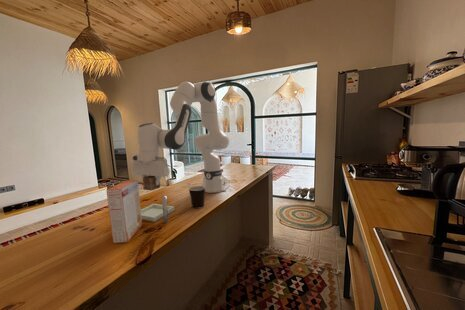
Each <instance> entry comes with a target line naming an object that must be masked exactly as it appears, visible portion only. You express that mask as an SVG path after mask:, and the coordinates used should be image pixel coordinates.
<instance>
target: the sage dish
mask: <svg viewBox="0 0 465 310" xmlns="http://www.w3.org/2000/svg"><path fill="white" fill-rule="evenodd" d="M167 209H168V215H169V214H171V213H173V212H175V206H172V205H167ZM141 217H142V221H147V222H152V223H155V222H157V221H159V220H161V219H162V218H163V205H162V204H157V203H152V204H150V205H147V206H146V207H144V208H142V209H141Z"/></svg>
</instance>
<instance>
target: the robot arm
mask: <svg viewBox="0 0 465 310" xmlns="http://www.w3.org/2000/svg"><path fill="white" fill-rule="evenodd" d="M215 96H216V88H215V85H214V84H213V83H212V82H211V81H202V82H201V81H200V82H196V83H194V84H193V83H191V82H189V81H182V82H181V83H180V84H179V85H178V86H177V88H176V89H175V91H174V93H173V94H172V97H171V98H170V101H169V106H170V108H171V110H172V111H173V112H174V113H175V114H176V115H178V116H177V118H176V121H175V125H174V126H173V127H172V128H170V129H164V128H161V127H159V126H158V125H157V124H156V123H155V122H148V123H142V124H140V125H139V126H138V128H137V142H138V145H139V149H138V154H134V155H132V156H131V160H132V173H133V175H136V176H141V179H142V180H143V177H146V176H155V177H156V178H157V179H156V181H155V182H154V183H155V185H159V181H160V180H161V178H163V177H168V175H169V174H170V171H169V170H170V168H169V165H168V160H167V159H166V157H164V156H160V151H159V149H164V150H165V149H167V150H169V149H170V150H176V151H177V150H180V149H181V148H182V147H183V146H184V145H185V142H186V134H187V129H188V128H189V127H188V126H189V123H190V119H191V115H192V108H191V107H192V104H193V103H199V104H200V119H201V122H200V123H201V126H202V127H203V128H205V129H206V130H207V132H208V133H202V134H198V135H196V136H195V138H194V141H193V142H194V146H195V148H197V150H198V151H199V152H200V153H201V156H202V158H203V166H204V170H203V176H204V177H203V178H202V186H203V187H205V193H214V194H215V193H220V192H226V191H227V190H228V189H229V188H230V186H231V184H230V183H228V182H227V177H226V176H224V174H223V173H224V168H221V158H220V156H218V155H217V154H216V153H215V151H220V150H221V151H222V150H226V149H227V148H228V147H229V145H230V139H229V137H228V135H227V134H225V133H224V132H223V131H222V129H221V127H220V123H219V117H218V113H219V112H218V107H217V101H216V98H215ZM160 182H161V181H160Z"/></svg>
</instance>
